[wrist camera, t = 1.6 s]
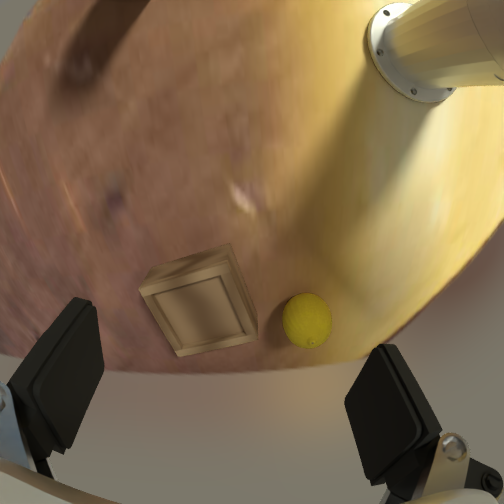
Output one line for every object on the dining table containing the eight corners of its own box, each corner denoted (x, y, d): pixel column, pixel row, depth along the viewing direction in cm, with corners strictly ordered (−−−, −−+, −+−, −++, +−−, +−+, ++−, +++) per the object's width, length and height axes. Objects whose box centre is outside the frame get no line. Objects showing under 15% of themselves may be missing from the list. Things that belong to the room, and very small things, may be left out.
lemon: (277, 284, 35) (283, 326, 28) (322, 277, 35) (339, 317, 27) (281, 321, 37) (288, 365, 30) (324, 314, 37) (338, 357, 30)
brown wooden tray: (230, 243, 33) (226, 263, 28) (257, 313, 37) (258, 339, 32) (151, 267, 34) (138, 289, 29) (185, 331, 38) (178, 356, 33)
